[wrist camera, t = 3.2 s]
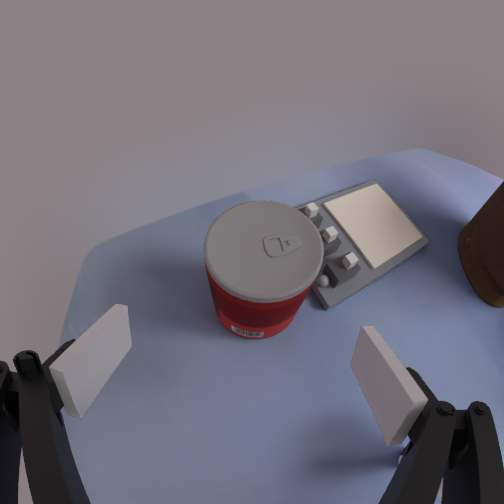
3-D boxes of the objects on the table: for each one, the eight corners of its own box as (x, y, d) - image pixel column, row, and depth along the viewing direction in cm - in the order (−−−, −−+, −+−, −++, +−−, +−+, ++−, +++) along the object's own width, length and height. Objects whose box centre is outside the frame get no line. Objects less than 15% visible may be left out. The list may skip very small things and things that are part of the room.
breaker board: (372, 184, 37) (382, 164, 34) (425, 246, 32) (440, 228, 28) (268, 224, 32) (272, 200, 29) (326, 310, 27) (339, 294, 23)
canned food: (309, 317, 27) (347, 264, 17) (237, 356, 24) (236, 322, 15) (270, 258, 30) (285, 186, 21) (203, 289, 28) (185, 223, 18)
